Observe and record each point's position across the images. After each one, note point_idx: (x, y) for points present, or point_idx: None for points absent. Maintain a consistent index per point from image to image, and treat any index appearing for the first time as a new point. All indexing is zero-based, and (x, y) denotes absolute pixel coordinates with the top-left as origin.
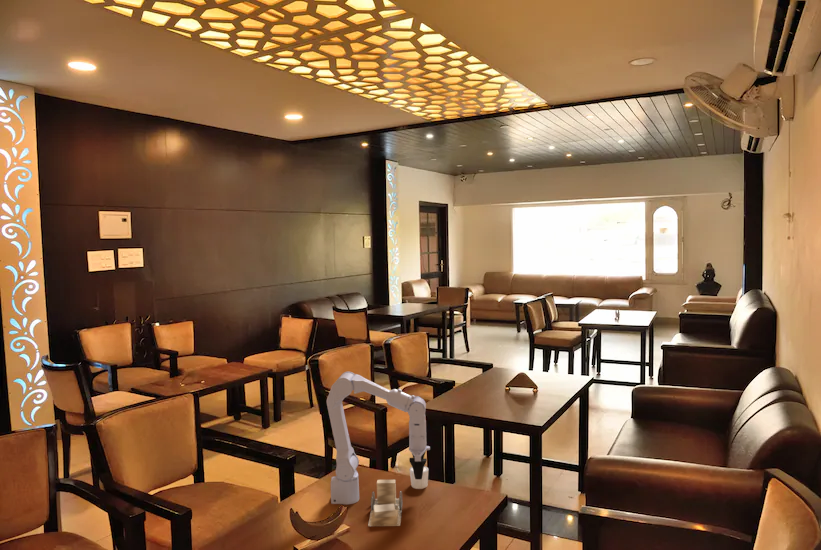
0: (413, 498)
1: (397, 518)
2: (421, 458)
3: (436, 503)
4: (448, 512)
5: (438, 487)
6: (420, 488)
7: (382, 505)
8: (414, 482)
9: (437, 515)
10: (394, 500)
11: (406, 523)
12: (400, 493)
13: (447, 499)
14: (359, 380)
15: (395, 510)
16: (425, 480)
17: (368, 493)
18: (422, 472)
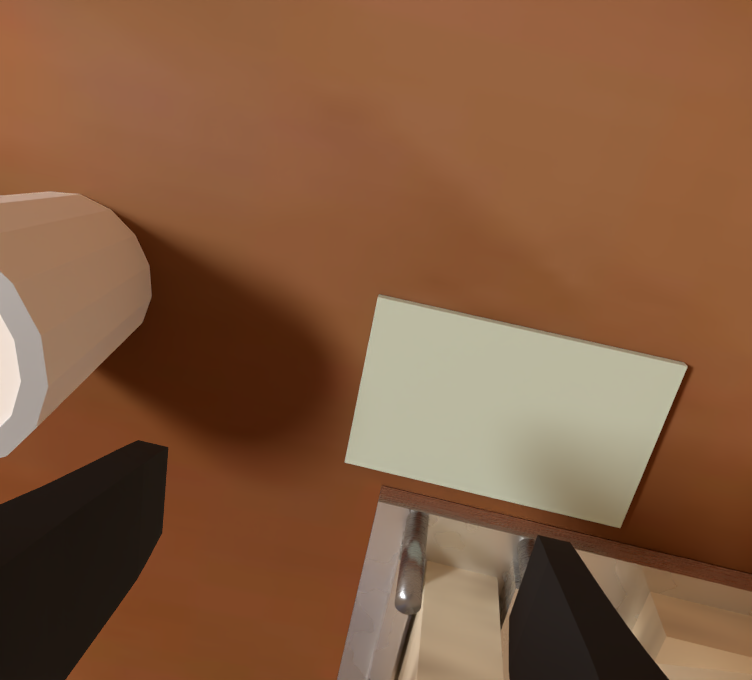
0: (290, 375)
1: (733, 623)
2: (27, 588)
3: (449, 174)
4: (705, 82)
5: (71, 62)
6: (138, 289)
7: None
8: (94, 369)
9: (721, 225)
10: (497, 641)
11: (748, 528)
12: (420, 598)
13: (384, 18)
14: None
15: (668, 654)
16: (72, 248)
17: (149, 668)
18: (635, 640)
